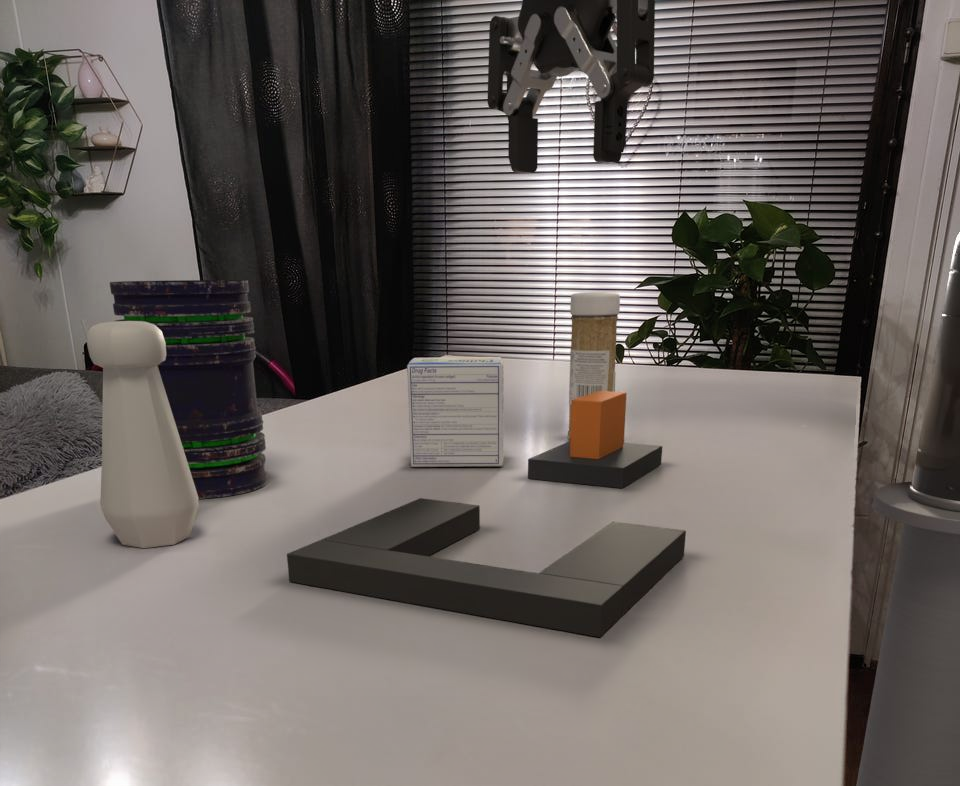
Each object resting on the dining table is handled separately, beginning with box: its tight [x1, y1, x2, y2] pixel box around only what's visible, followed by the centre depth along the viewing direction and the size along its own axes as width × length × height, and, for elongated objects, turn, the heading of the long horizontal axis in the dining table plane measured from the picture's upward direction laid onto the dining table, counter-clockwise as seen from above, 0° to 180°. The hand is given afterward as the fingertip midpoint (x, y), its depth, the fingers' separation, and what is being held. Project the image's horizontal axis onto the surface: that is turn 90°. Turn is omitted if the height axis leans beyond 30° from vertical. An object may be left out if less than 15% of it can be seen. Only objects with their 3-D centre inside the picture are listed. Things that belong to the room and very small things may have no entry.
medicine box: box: [406, 356, 505, 468], centre depth 77 cm, size 8×4×9 cm, turn 88°
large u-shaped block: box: [286, 497, 687, 638], centre depth 51 cm, size 14×18×2 cm
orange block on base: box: [527, 391, 663, 489], centre depth 74 cm, size 10×8×6 cm
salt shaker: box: [86, 320, 199, 549], centre depth 55 cm, size 6×6×13 cm
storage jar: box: [109, 279, 268, 500], centre depth 69 cm, size 10×10×15 cm
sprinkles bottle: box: [567, 291, 621, 439], centre depth 86 cm, size 5×5×13 cm
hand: (563, 167), depth 67 cm, fingers open, 8 cm apart
